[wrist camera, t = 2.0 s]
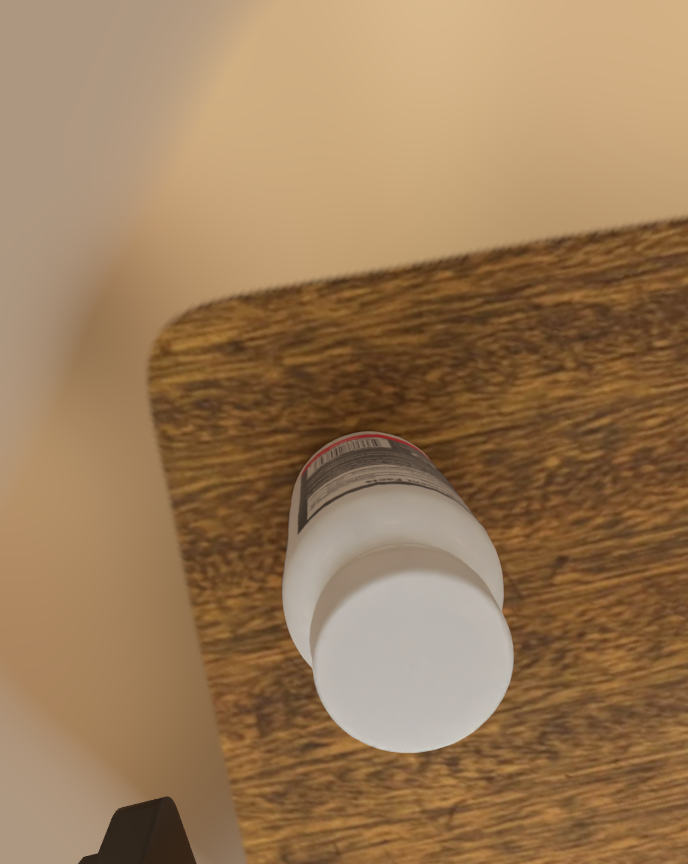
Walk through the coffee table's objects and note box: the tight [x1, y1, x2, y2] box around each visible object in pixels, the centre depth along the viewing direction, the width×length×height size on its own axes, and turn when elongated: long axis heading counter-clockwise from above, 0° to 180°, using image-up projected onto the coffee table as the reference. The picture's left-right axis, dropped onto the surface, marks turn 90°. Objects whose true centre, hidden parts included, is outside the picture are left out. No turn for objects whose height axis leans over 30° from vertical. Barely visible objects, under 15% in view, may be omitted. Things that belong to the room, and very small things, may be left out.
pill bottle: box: [282, 431, 514, 753], centre depth 17 cm, size 5×5×10 cm
